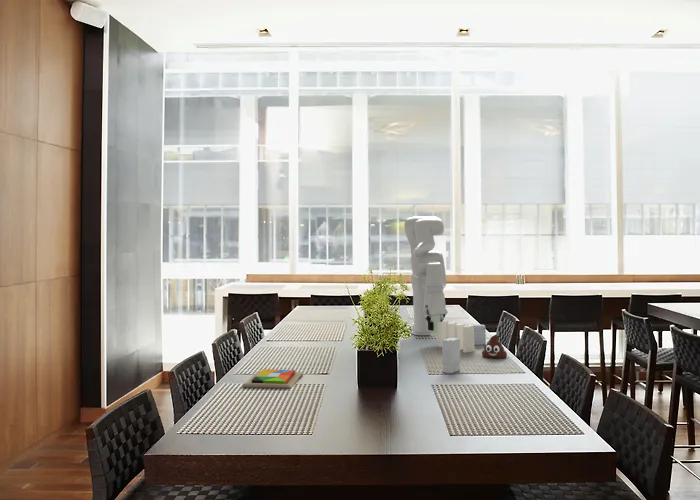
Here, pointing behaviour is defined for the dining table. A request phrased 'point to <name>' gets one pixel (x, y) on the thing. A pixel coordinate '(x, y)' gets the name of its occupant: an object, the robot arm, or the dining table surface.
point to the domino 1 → (435, 325)
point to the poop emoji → (494, 349)
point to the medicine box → (479, 334)
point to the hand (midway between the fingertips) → (435, 329)
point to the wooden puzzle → (273, 379)
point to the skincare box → (451, 355)
